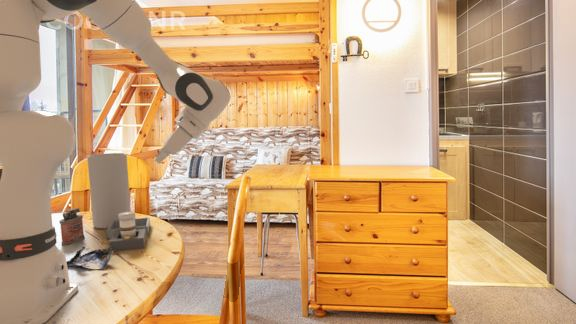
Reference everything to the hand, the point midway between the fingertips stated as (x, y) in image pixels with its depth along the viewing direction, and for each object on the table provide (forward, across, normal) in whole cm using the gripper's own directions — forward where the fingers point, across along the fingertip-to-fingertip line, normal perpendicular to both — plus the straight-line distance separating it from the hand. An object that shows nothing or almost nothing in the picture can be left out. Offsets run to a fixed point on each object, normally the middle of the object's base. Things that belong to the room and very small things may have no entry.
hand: (157, 160), depth 115 cm
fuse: (+24, +1, +11) cm, 27 cm away
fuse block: (+24, +1, +11) cm, 27 cm away
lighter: (+36, -10, -1) cm, 38 cm away
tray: (+25, -13, +10) cm, 30 cm away
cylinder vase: (+30, -26, +6) cm, 41 cm away
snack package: (+30, +14, +5) cm, 34 cm away
